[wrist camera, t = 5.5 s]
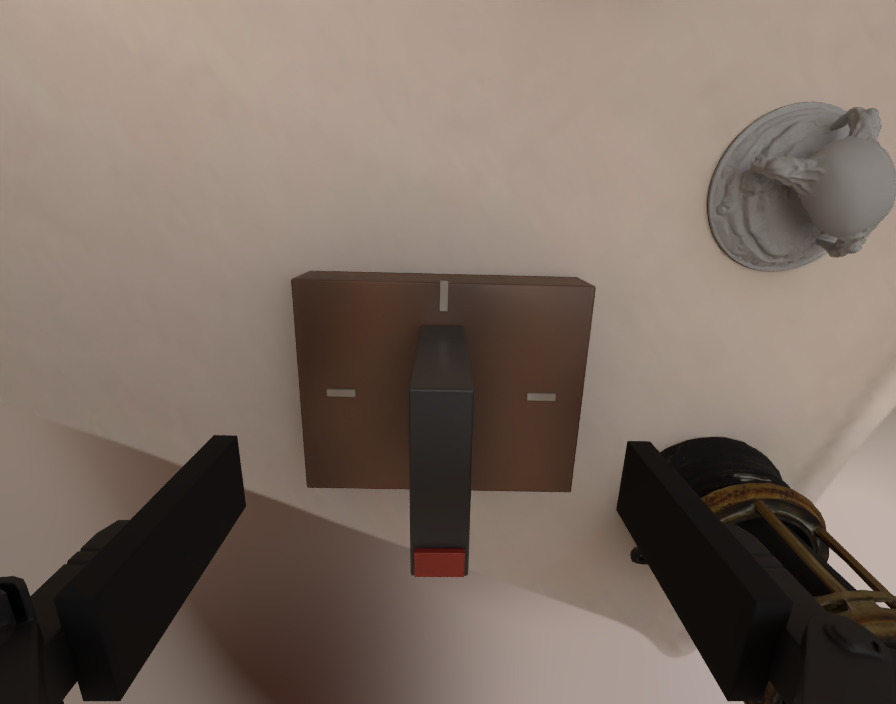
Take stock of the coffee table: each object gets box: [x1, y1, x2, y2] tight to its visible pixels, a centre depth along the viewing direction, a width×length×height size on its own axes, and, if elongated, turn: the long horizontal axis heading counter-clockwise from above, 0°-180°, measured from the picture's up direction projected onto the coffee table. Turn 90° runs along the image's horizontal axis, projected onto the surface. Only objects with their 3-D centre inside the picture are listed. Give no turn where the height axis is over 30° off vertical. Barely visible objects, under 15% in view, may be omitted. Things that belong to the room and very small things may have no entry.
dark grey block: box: [408, 326, 474, 577], centre depth 19 cm, size 7×2×8 cm, turn 179°
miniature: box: [708, 102, 896, 271], centre depth 20 cm, size 8×8×5 cm
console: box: [291, 271, 596, 492], centre depth 24 cm, size 14×11×3 cm
